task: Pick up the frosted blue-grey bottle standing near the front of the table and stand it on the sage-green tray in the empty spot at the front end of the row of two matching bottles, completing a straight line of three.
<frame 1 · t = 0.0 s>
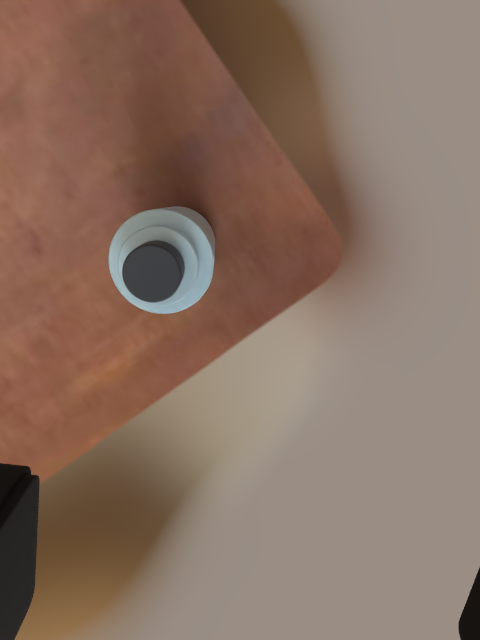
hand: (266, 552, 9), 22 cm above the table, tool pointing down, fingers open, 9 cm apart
loose bottle: (178, 244, 29), on the table
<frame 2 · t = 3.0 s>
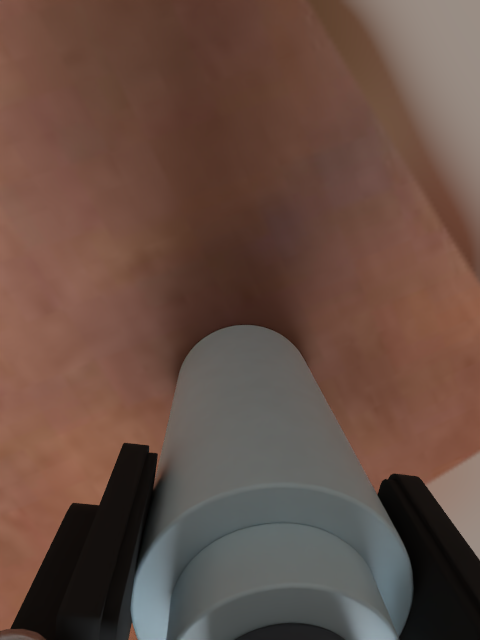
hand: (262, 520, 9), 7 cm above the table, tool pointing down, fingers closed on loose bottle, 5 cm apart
loose bottle: (243, 387, 16), on the table, touching gripper
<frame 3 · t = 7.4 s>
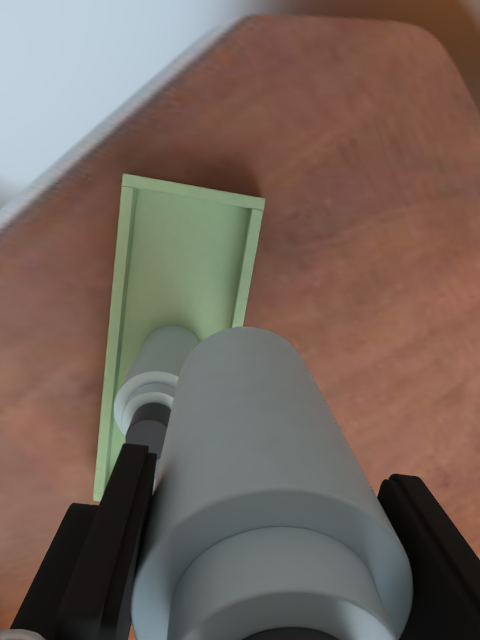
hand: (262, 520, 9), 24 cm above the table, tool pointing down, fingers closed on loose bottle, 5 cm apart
loose bottle: (243, 389, 16), point 17 cm above the table, touching gripper
tray: (174, 353, 34), on the table
row bottle middle: (173, 356, 33), point 1 cm above the table, touching tray
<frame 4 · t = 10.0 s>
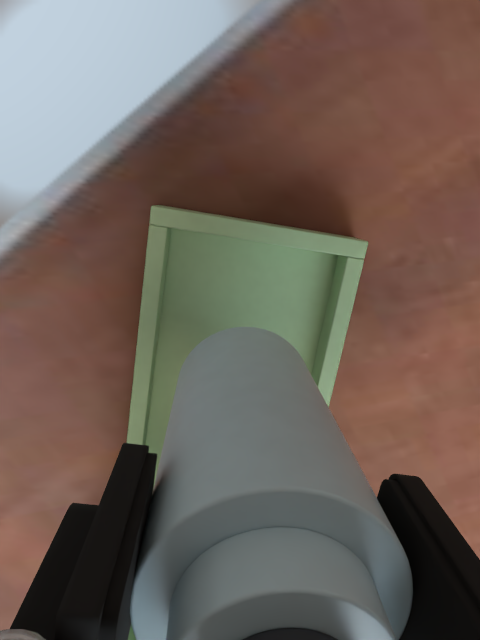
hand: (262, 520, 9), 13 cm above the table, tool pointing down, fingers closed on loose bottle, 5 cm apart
loose bottle: (243, 389, 16), point 6 cm above the table, touching gripper
tray: (218, 453, 24), on the table
when the fingers open (8 cm above the table, at t = 11.9 s): loose bottle stays where it is, resting on tray.
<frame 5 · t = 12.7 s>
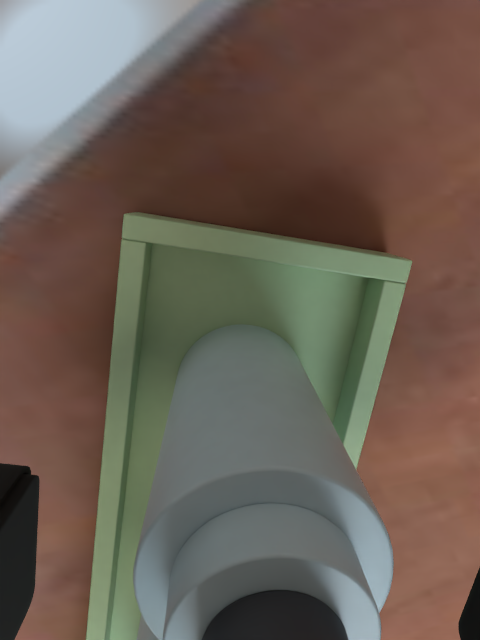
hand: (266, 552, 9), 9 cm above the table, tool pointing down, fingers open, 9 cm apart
loose bottle: (240, 384, 17), point 1 cm above the table, touching tray
tray: (215, 519, 19), on the table
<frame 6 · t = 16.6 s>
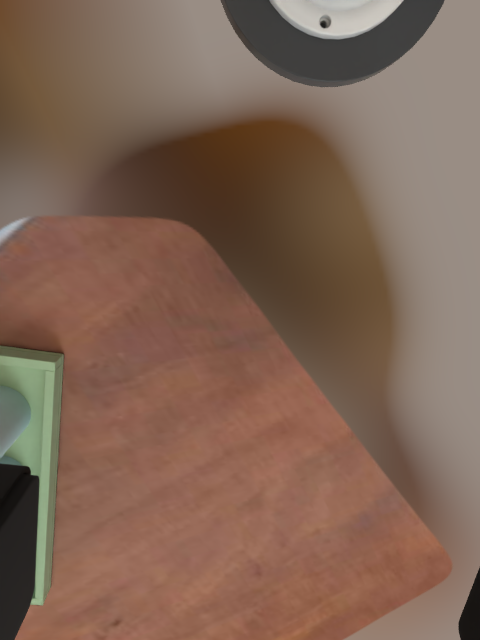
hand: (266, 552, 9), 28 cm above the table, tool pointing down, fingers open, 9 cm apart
loose bottle: (2, 411, 37), point 1 cm above the table, touching tray
tray: (4, 474, 40), on the table
row bottle middle: (1, 478, 39), point 1 cm above the table, touching tray
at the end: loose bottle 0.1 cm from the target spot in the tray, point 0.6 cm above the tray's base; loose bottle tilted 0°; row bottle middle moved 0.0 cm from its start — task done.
